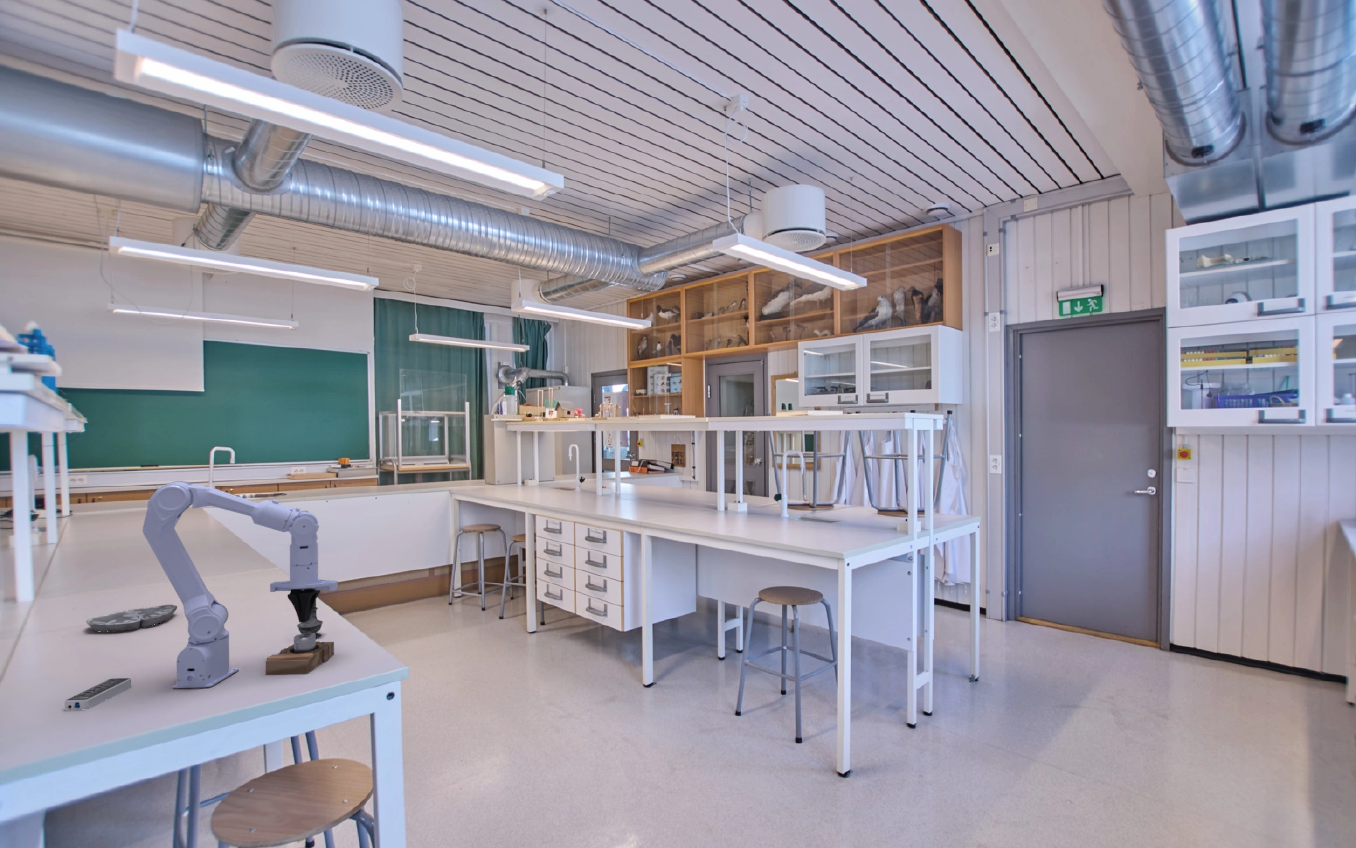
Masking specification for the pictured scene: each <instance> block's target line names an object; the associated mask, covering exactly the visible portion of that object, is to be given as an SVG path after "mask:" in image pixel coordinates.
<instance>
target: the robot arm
mask: <svg viewBox="0 0 1356 848" xmlns="http://www.w3.org/2000/svg"><path fill="white" fill-rule="evenodd" d="M279 502H280V500H276V499H275V498H274V499H272V500H268V499H265V500H263V501H260V502H255V501H253V500H252V501H251V500H249V499H246V498H243V497H239V496H238V495H234V494H231V493H229V492H226V491H223V490H220V489H217V488H214V487H210V486H207V485H203V484H198V483H193V484H192V483H190V482H188V481H186V480H176V481H171V482H170V483H168V484H164V485H161V486H159V488H158V489H156V491H154V493H153V494H152V495H151V496H150V498H149V499H148V501H147V507H146V508H147V509H146V513H145V517H144V520H143V526H142V533H143V536H144V537H145V539H146V540H147V543H148V544H149V546H150V548H151V549H152V552H153V553H154V555H155V557H156V559H157V560H158V562H159V564H160V566H161V568H162V570H163V571H164V573H165V575H166V576H167V578H168V580H169V582H170V584H171V586H172V587H173V589H174V591H175V593H176V594H177V596H178V598H179V599H180V602H181V603H182V607H183V610H184V611H183V612H184V613H183V614H184V617H185V618H186V620H187V633H188V635H189V637H188V638H187V640H188V641H187V644H186V647H184V648H183V649H182V650H181V651H180V652H179V654H178V655H177V657H176V683H175V684H173V685H172V689H190V688H192V689H193V688H194V689H197V688H198V689H199V688H211V687H213V686H215V685H216V684H218V683H220V682H221V681H223V680H225V679H226V678H228V677H230V676H231V675H234V673H236V672H238V671H239V667H230V631H228V630H227V629H226V628H225V624H226V622H227V621H228V619H229V611H228V608H227V607H226V606H225V605H224V604H222V603H220V602H218V600H217V598H216V597H215V595H213V593H211V591H209V589H208V588H207V586H206V584H205V582H204V580H203V578H202V577H201V574H200V572H199V571H198V569H197V568H196V566H195V564H194V562H193V560H192V558H191V556H190V555H189V553H188V551H187V549H186V548H185V545H184V543H183V542H182V540H181V538H180V536H179V535H178V533H177V531H176V529H175V527H176V526H177V523H178V522H179V520H180V519H181V517H182V515H183V513H184V512H185V511H187V510H188V509H189V508H190V506H192V509H198V508H203V507H204V508H205V507H214V508H218V509H222V510H224V511H225V510H226V511H229V512H233V513H236V514H237V513H238V514H242V515H245V516H248V517H251V520H252V521H253V524H255V525H257V526H260V527H261V526H262V527H264V528H268V529H272V530H274V531H275V530H276V531H277V532H282V533H286V532H288V533H289V534H290V542H291V543H290V544H289V580H284V581H283V580H281V581H274V582H271V583H269V592H270V593H275V592H286V591H287V592H290V593H289V594H287V599H288V600H289V602H290V603H291V604H292V606H293V608H294V610H295V612H296V616H297V619H298V622H299V623H298V624H300V623H302V622H307V621H308V620H309V619H310V615H311V611H312V608H313V605H314V603H315V600H316V601H317V599H318V596H319V595H320V593H321V591H330V592H333V591H336V590H337V589H338V587H339V585H338V584H339V583H338V582H339V580H330V579H329V580H328V579H320V578H319V543H318V540H319V539H318V534H317V533H318V532H319V528H320V525H319V521H318V518H317V516H316V515H315V514H313V513H312V512H309V511H308V510H301V508H300V507H295V508H293V507H291V506H287V505H284V504H281V503H279Z"/></svg>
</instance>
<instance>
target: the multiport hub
mask: <svg viewBox="0 0 1356 848" xmlns="http://www.w3.org/2000/svg"><path fill="white" fill-rule="evenodd" d="M131 688H132V678H131V677H121V678H120V677H119V678H118V677H117V678H110V679H109V678H108V679H107V680H105V681H103V682H101V683H99V684H97V685H95V686H92V687H90V688H88V689H86V690H85V691H82V692H80V693H77V694H76V695H73V696H72V697H69V698H67V699H65V700H64V711H65V710H73V711H83V710H82V709H88V710H90V709H91V708H90V707H92V706H94V707H96V706H98V705H99V703H100V704H101V702H102V703H104V702H105V700H106V699H108V700H109V699H112V698H113V697H115V696H117V695H119V694H122V693H123V692H125V691H127V690H129V689H131ZM103 701H104V702H103ZM106 701H107V700H106ZM97 704H98V705H97ZM95 705H96V706H95ZM89 708H90V709H89ZM92 708H93V707H92Z"/></svg>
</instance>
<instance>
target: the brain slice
mask: <svg viewBox="0 0 1356 848" xmlns="http://www.w3.org/2000/svg"><path fill="white" fill-rule="evenodd" d="M177 610H178V605H174V604H163V605H158V606H157V605H156V606H150V607H141V608H132V609H127V610H126V609H125V610H121V611H115V612H113V613H109V614H105V615H99V616H95V617H89V619H87V620H86V624H87V625H88V626H89V627H90V628H92V629H93V630H94V631H95V632H96V631H101V632H107V631H118V632H123V631H122V630H130V631H134V630H133V629H136V630H139V629H141V627H147V628H150V627H149V626H151V627H153V626H152V625H154V624H157V625H159V624H158V623H160V624H161V623H164V622H163V621H165V622H167V621H168V620H169V619H170V618H171V617H172V615H173V614H174V613H175V612H176V611H177ZM167 619H168V620H167ZM154 626H155V625H154ZM138 628H139V629H138ZM101 632H100V633H101ZM107 633H108V632H107Z"/></svg>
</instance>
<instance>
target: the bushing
mask: <svg viewBox="0 0 1356 848" xmlns="http://www.w3.org/2000/svg"><path fill="white" fill-rule="evenodd" d="M316 640H317V639H316V634H315V633H303V634H301V633H299V634H297V635H295V636H293V644H294V654H300V653H307V652H311V651H314V650H316V642H317V641H316Z"/></svg>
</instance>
